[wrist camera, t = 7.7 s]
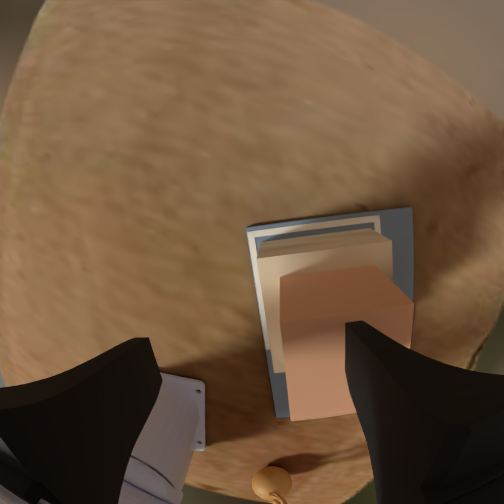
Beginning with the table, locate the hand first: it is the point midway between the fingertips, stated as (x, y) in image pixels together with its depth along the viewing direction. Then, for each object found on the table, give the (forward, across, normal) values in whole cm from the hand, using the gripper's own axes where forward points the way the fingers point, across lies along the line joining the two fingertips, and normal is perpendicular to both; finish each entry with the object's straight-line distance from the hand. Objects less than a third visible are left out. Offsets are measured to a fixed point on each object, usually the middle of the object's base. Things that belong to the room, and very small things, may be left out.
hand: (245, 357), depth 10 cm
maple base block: (+9, -4, +1) cm, 10 cm away
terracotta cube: (+5, -4, +1) cm, 7 cm away
